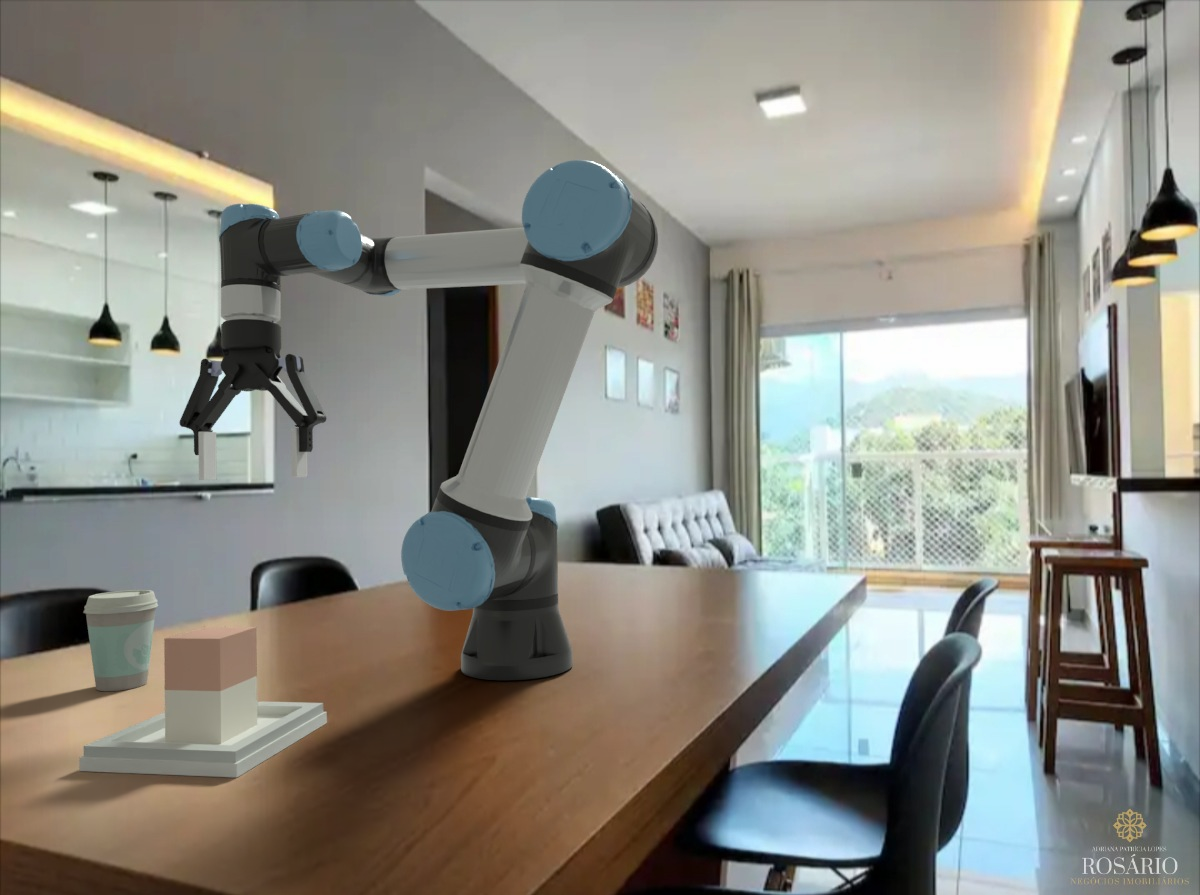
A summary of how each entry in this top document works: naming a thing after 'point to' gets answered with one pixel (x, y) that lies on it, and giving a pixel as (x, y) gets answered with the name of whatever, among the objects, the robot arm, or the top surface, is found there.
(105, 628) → the coffee cup
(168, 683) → the brick stack
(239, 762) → the base plate
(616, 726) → the top surface
